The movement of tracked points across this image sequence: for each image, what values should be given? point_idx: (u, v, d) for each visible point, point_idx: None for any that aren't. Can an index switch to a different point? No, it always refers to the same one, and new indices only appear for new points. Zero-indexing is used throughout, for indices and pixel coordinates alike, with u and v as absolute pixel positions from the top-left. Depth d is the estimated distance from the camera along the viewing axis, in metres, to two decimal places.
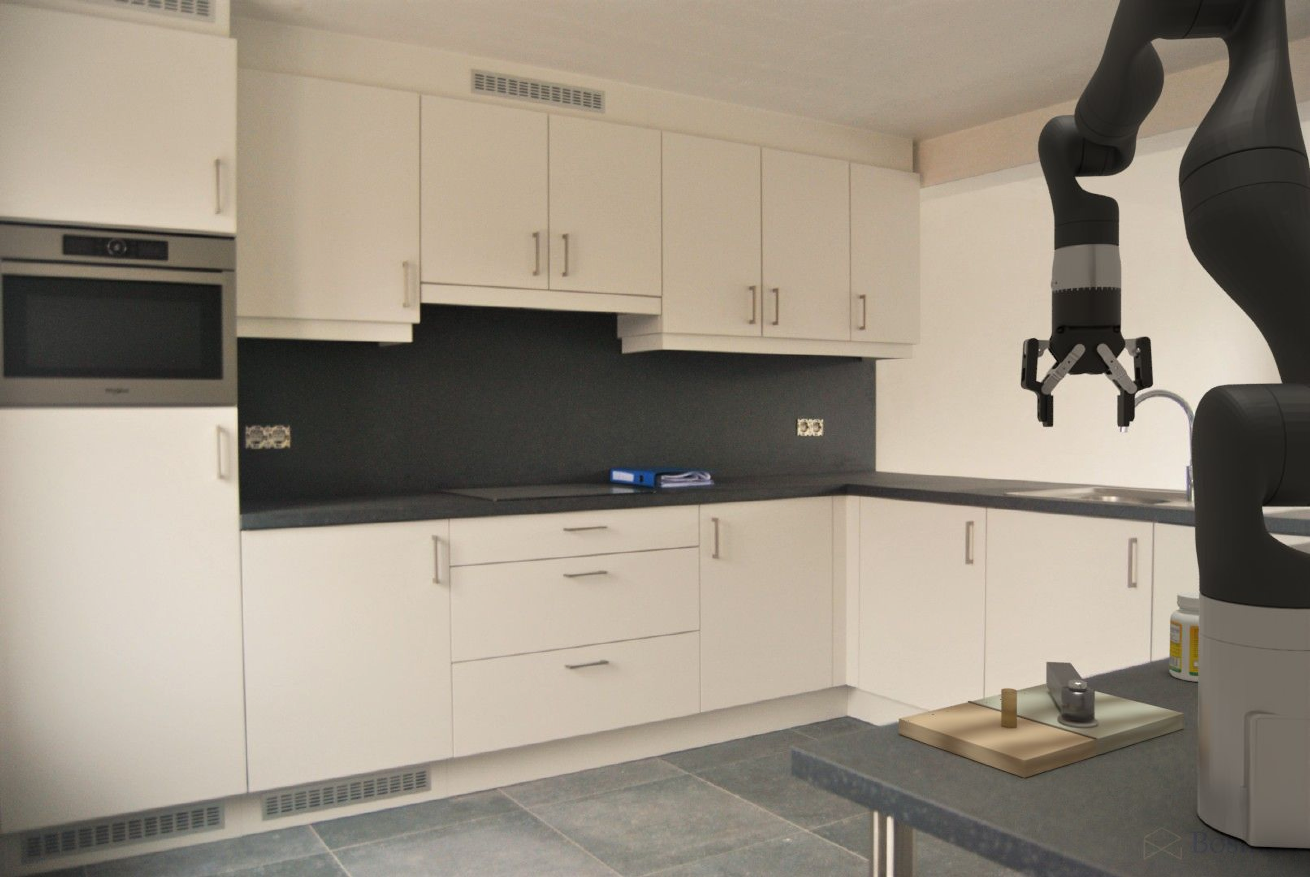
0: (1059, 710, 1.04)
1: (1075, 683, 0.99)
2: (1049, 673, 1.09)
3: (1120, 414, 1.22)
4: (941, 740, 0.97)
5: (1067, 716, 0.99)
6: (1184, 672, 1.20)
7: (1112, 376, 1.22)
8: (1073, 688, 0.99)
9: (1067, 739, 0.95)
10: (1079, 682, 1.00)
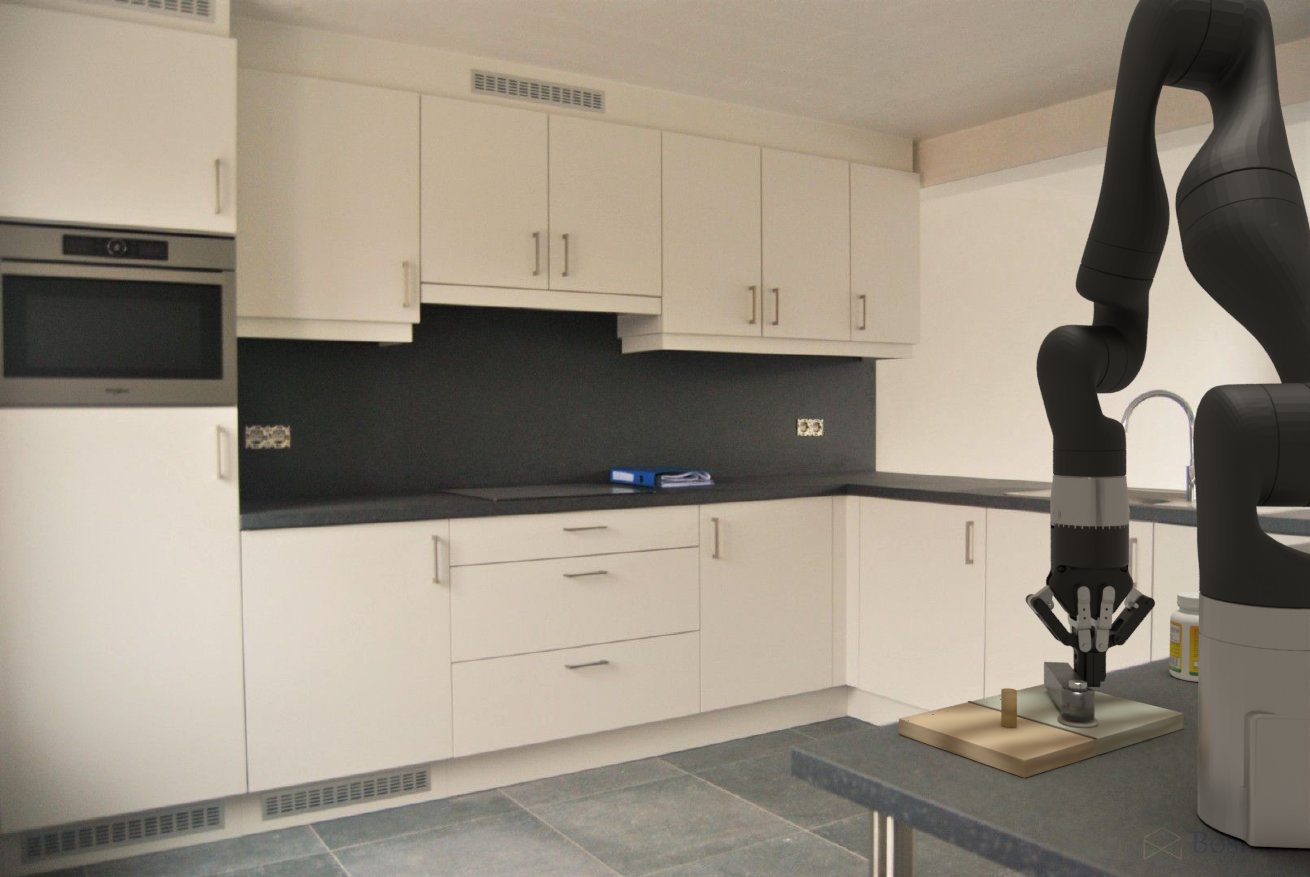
0: (1059, 710, 1.04)
1: (1075, 683, 0.99)
2: (1047, 673, 1.09)
3: None
4: (941, 740, 0.97)
5: (1067, 716, 0.99)
6: (1184, 672, 1.20)
7: None
8: (1073, 688, 0.99)
9: (1067, 739, 0.95)
10: (1079, 682, 1.00)
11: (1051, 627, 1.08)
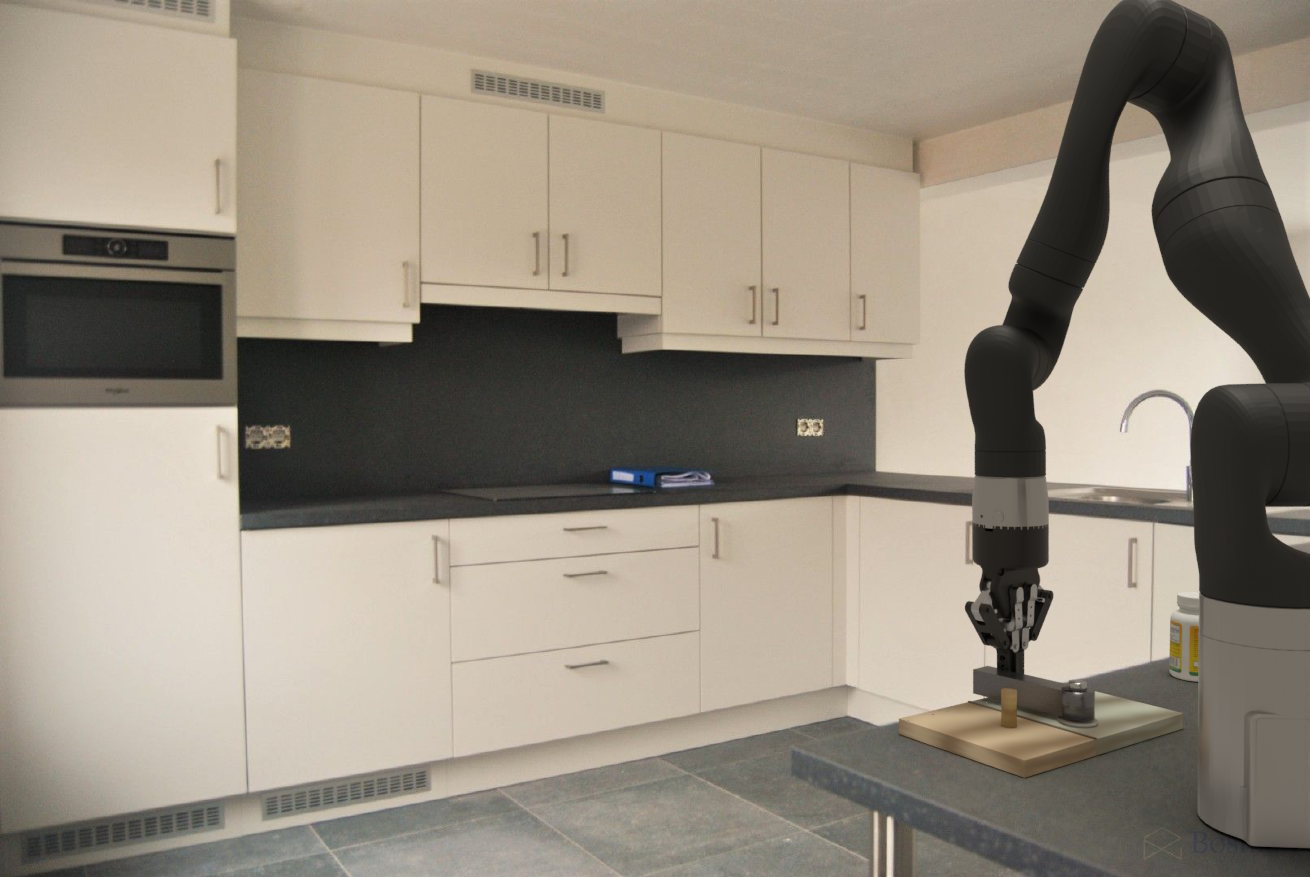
0: None
1: (1081, 683, 0.99)
2: (990, 680, 1.06)
3: None
4: (941, 740, 0.97)
5: (1081, 718, 0.98)
6: (1184, 672, 1.20)
7: None
8: (1080, 689, 0.99)
9: (1067, 739, 0.95)
10: (1080, 682, 1.00)
11: (996, 632, 1.06)
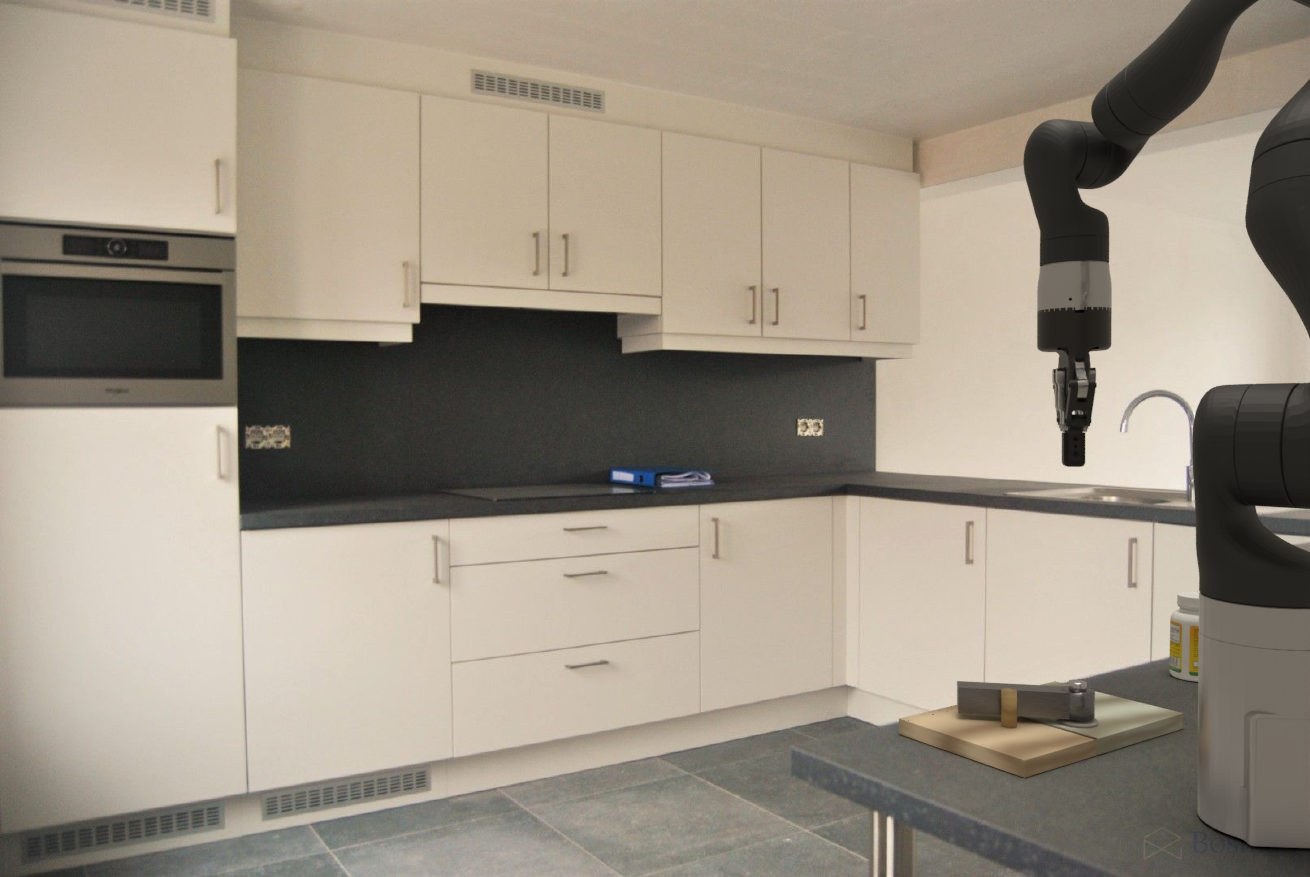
0: None
1: (1084, 683, 0.99)
2: (981, 695, 1.01)
3: None
4: (941, 740, 0.97)
5: (1091, 717, 0.99)
6: (1184, 672, 1.20)
7: None
8: (1085, 688, 0.99)
9: (1067, 739, 0.95)
10: (1079, 681, 1.00)
11: (1092, 408, 1.10)
